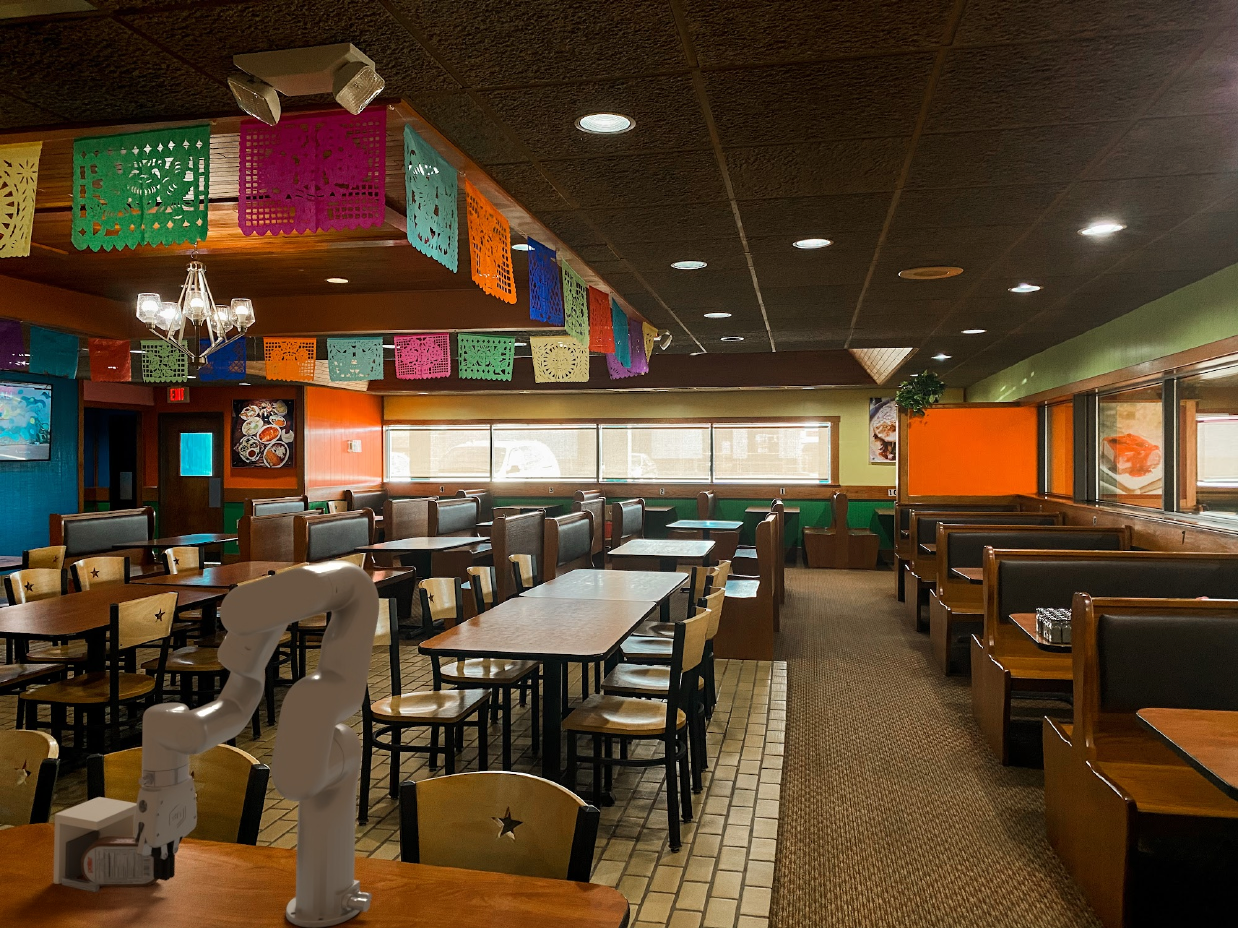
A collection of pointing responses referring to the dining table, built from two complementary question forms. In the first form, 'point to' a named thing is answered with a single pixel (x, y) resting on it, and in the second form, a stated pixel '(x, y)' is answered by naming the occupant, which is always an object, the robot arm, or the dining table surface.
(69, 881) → the white u-channel
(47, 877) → the dining table surface
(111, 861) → the tin
